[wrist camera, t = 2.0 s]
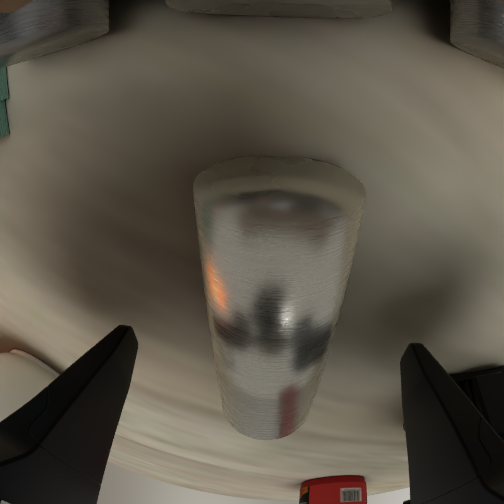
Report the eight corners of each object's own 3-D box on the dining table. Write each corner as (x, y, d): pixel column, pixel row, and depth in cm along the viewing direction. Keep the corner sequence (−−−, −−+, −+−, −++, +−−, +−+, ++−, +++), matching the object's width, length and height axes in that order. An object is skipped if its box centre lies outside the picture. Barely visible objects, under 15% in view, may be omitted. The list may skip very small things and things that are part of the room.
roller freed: (307, 366, 14) (312, 439, 11) (226, 364, 14) (218, 437, 11) (344, 158, 8) (389, 225, 5) (209, 154, 9) (172, 219, 5)
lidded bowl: (40, 324, 15) (-38, 476, 6) (137, 426, 22) (105, 538, 12) (-32, 321, 17) (-86, 413, 8) (47, 405, 24) (14, 487, 15)
